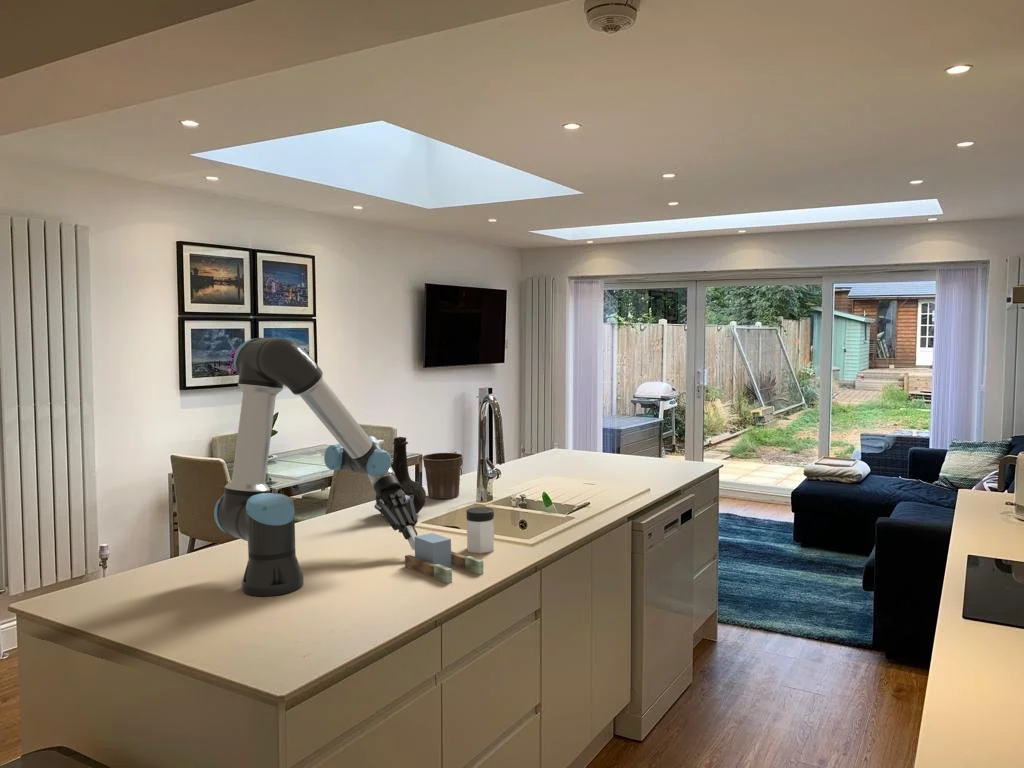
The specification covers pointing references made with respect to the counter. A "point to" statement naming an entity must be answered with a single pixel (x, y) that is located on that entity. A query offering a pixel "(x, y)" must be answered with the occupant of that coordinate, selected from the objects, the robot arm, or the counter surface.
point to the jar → (480, 530)
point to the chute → (442, 571)
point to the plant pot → (443, 474)
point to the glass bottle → (406, 475)
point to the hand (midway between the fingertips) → (416, 547)
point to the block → (433, 549)
